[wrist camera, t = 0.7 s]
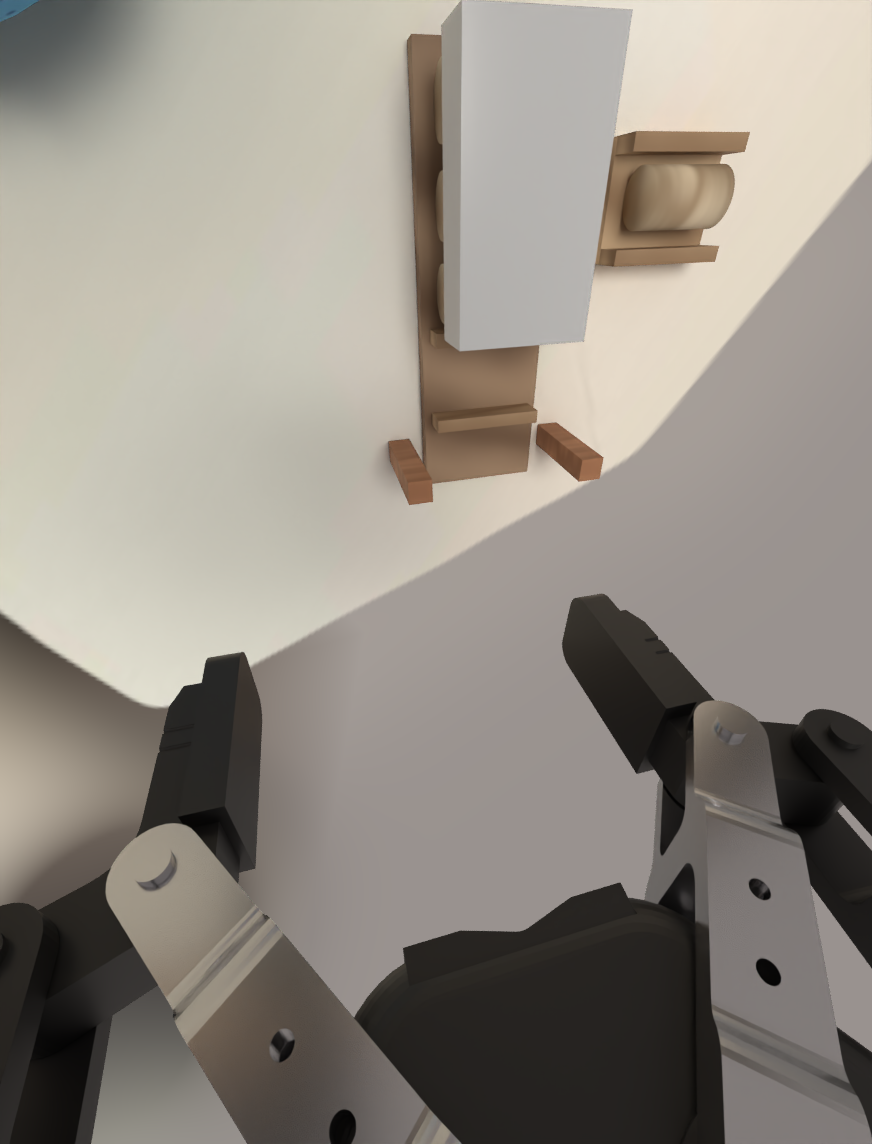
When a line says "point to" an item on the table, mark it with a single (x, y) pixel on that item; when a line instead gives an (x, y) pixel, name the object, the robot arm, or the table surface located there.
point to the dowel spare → (677, 196)
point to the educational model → (13, 7)
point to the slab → (525, 166)
